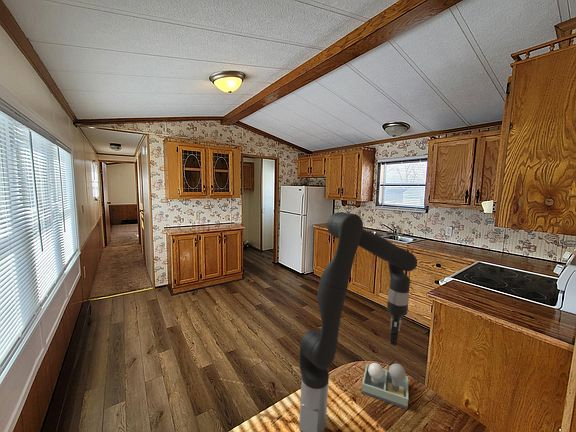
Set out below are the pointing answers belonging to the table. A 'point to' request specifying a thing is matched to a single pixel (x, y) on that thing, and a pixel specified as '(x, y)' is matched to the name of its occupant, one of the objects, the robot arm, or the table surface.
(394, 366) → the lightbulb
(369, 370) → the tray
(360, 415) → the table surface
